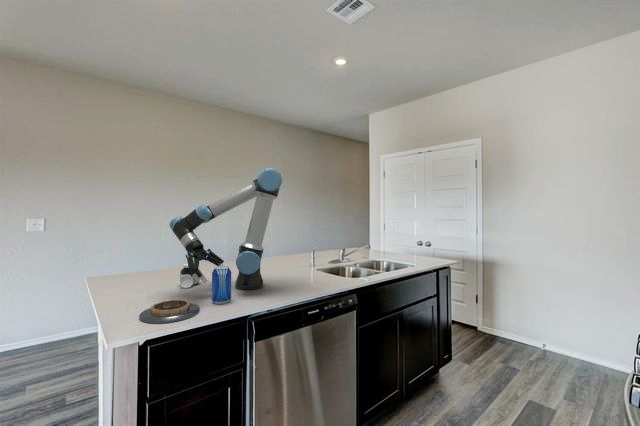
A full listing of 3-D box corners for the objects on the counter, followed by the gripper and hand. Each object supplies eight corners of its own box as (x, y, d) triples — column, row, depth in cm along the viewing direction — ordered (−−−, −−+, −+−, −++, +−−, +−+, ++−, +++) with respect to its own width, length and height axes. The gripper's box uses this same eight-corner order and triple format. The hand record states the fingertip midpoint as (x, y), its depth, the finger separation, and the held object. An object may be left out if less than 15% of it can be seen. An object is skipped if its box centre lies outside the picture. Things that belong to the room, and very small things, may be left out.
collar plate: (191, 301, 138) (191, 294, 138) (206, 315, 121) (206, 307, 121) (135, 311, 125) (135, 303, 125) (143, 328, 108) (143, 318, 108)
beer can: (211, 300, 141) (211, 266, 141) (229, 298, 144) (230, 265, 144) (212, 305, 133) (212, 269, 133) (232, 303, 137) (232, 268, 136)
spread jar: (196, 282, 175) (196, 262, 175) (204, 285, 167) (204, 265, 167) (174, 285, 167) (174, 264, 167) (181, 289, 159) (181, 267, 159)
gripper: (207, 246, 157) (230, 278, 151) (166, 252, 134) (191, 290, 128) (215, 236, 155) (238, 268, 149) (174, 241, 132) (201, 279, 126)
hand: (217, 278), depth 139 cm, fingers open, 13 cm apart
